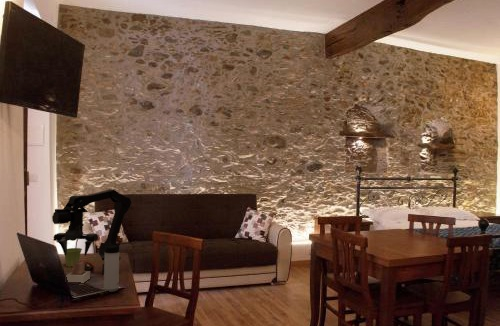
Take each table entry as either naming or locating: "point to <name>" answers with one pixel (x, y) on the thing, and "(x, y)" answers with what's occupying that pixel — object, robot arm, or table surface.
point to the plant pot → (72, 256)
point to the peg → (78, 268)
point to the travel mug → (111, 267)
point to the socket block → (78, 277)
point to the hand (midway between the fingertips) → (75, 255)
